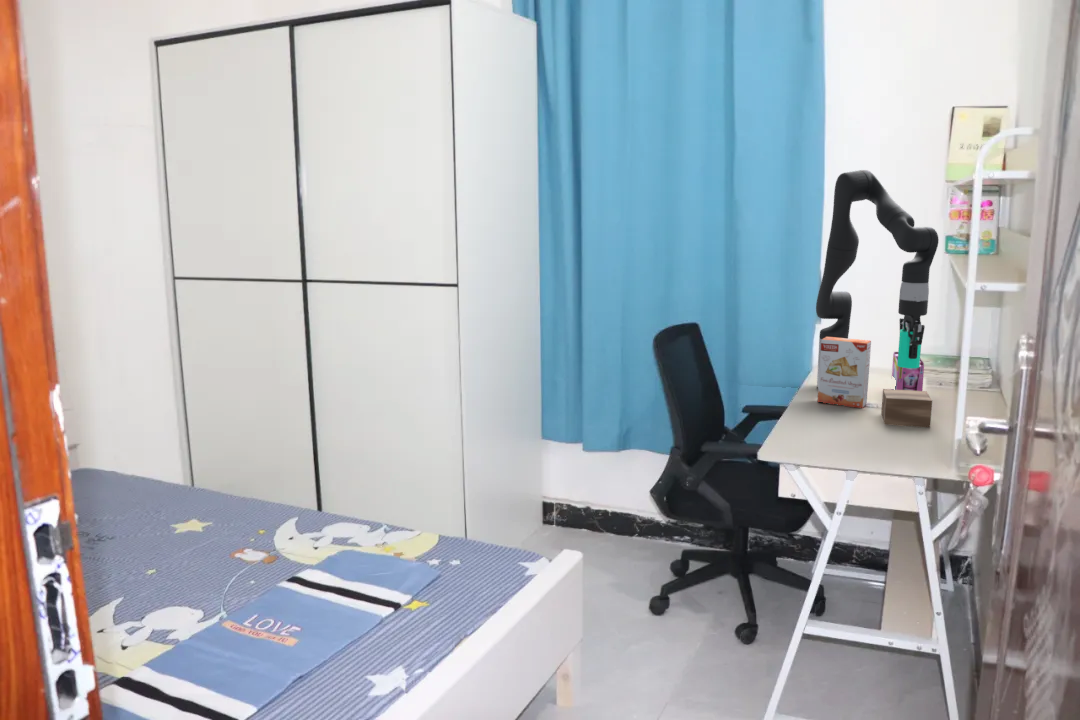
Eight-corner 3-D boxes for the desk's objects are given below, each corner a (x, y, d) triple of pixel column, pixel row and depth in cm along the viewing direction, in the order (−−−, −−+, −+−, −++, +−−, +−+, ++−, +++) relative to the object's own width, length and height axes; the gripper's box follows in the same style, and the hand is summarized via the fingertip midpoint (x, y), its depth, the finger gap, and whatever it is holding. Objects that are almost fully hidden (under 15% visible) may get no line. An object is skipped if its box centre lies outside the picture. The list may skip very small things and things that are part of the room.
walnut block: (881, 414, 250) (883, 388, 248) (924, 417, 246) (926, 391, 244) (884, 425, 238) (886, 398, 237) (930, 428, 235) (932, 400, 233)
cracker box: (816, 403, 263) (820, 338, 259) (822, 399, 268) (825, 335, 264) (862, 409, 256) (867, 342, 251) (867, 404, 260) (871, 339, 256)
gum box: (922, 409, 255) (925, 366, 252) (894, 407, 257) (897, 364, 255) (915, 392, 277) (918, 352, 274) (890, 390, 279) (892, 351, 277)
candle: (921, 368, 236) (925, 327, 233) (899, 367, 237) (902, 326, 234) (917, 364, 241) (920, 323, 239) (895, 363, 243) (898, 323, 240)
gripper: (891, 294, 242) (887, 351, 246) (908, 301, 228) (904, 361, 232) (918, 294, 242) (913, 352, 245) (936, 301, 228) (931, 361, 231)
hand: (909, 356), depth 238 cm, fingers closed on candle, 5 cm apart
